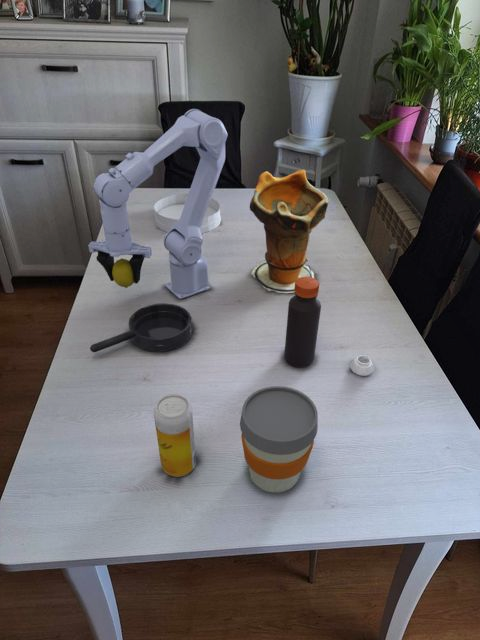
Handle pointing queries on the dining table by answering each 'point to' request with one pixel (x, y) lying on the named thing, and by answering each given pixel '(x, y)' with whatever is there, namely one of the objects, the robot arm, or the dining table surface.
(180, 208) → the dish
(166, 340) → the pan
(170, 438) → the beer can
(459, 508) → the dining table surface
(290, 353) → the bottle
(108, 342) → the pan handle
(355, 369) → the lidless jar
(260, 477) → the reusable coffee cup
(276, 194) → the decorative vase
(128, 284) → the lemon
